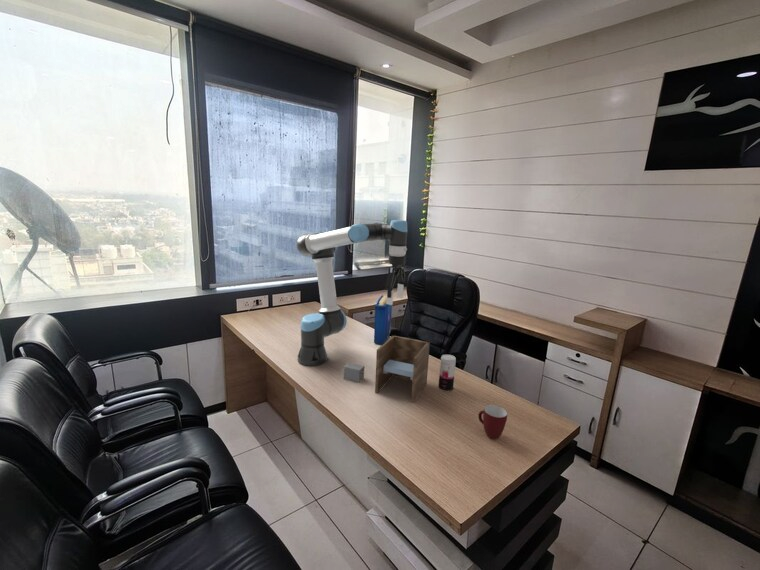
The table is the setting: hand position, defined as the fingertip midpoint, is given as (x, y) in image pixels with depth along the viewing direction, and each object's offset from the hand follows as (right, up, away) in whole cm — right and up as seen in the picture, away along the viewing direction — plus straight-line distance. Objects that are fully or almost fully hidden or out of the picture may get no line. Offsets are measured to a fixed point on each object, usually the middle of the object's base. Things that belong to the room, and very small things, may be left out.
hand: (394, 301), depth 164 cm
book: (-6, -26, +53) cm, 59 cm away
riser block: (-19, -36, +2) cm, 41 cm away
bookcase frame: (+3, -39, -4) cm, 39 cm away
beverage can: (+23, -39, -3) cm, 46 cm away
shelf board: (+2, -30, -8) cm, 32 cm away
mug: (+33, -47, -35) cm, 67 cm away
